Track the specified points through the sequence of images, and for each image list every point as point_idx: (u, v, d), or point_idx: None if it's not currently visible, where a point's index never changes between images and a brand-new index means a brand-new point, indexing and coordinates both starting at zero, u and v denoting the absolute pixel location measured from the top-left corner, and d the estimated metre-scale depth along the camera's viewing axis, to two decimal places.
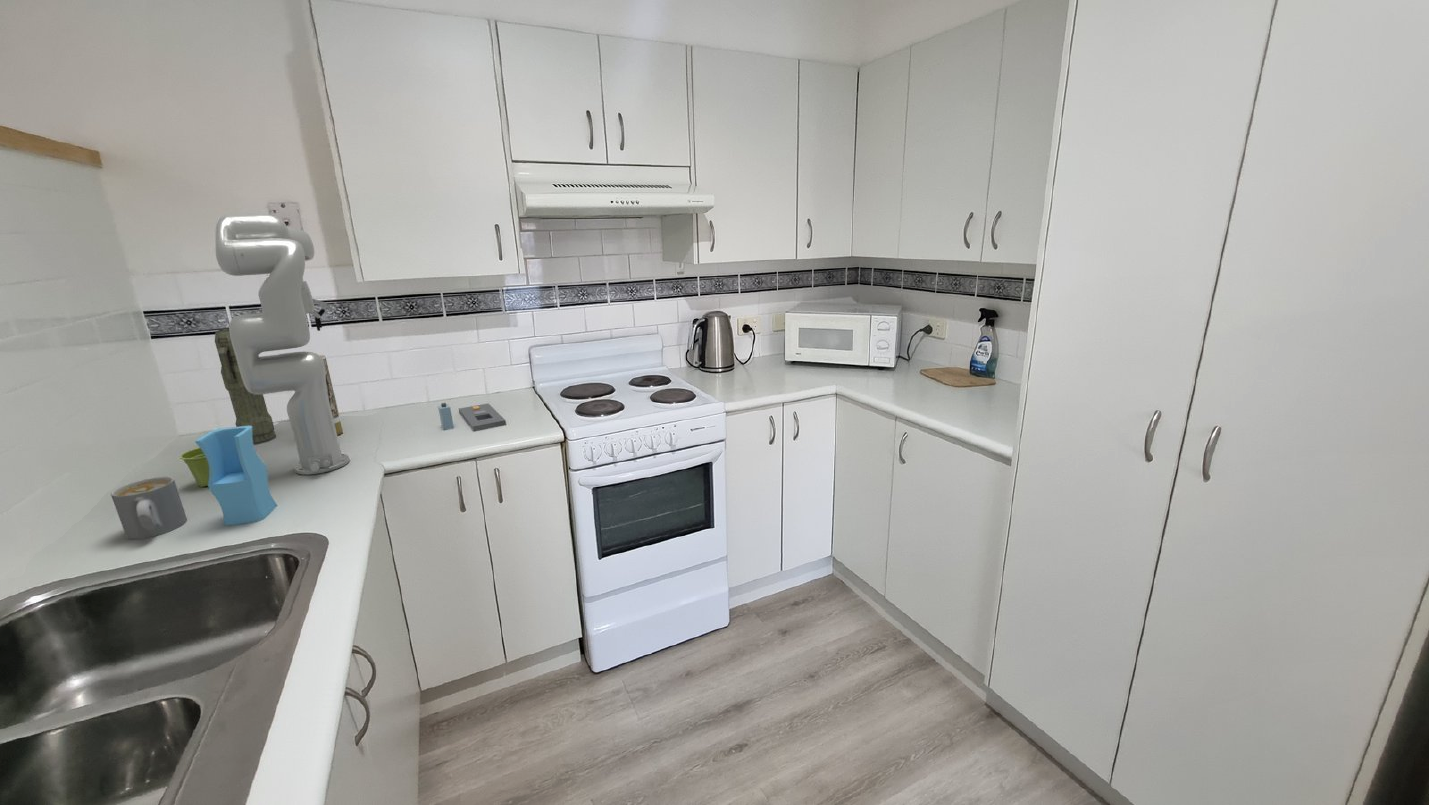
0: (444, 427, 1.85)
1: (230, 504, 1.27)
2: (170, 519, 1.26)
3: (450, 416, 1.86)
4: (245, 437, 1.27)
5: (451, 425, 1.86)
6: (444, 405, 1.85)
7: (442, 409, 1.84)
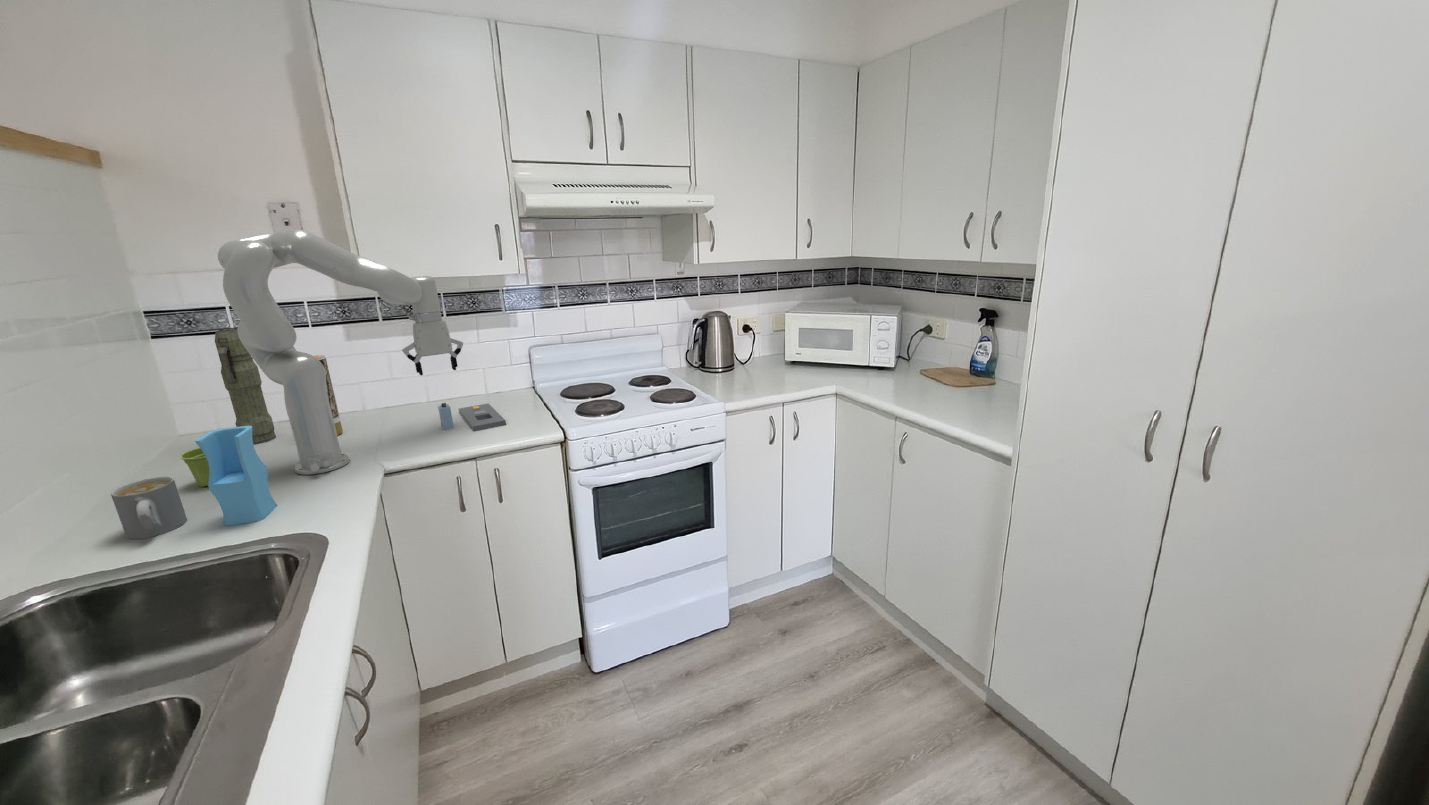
0: (444, 427, 1.85)
1: (230, 504, 1.27)
2: (170, 519, 1.26)
3: (450, 416, 1.86)
4: (245, 437, 1.27)
5: (451, 425, 1.86)
6: (444, 405, 1.85)
7: (442, 409, 1.84)
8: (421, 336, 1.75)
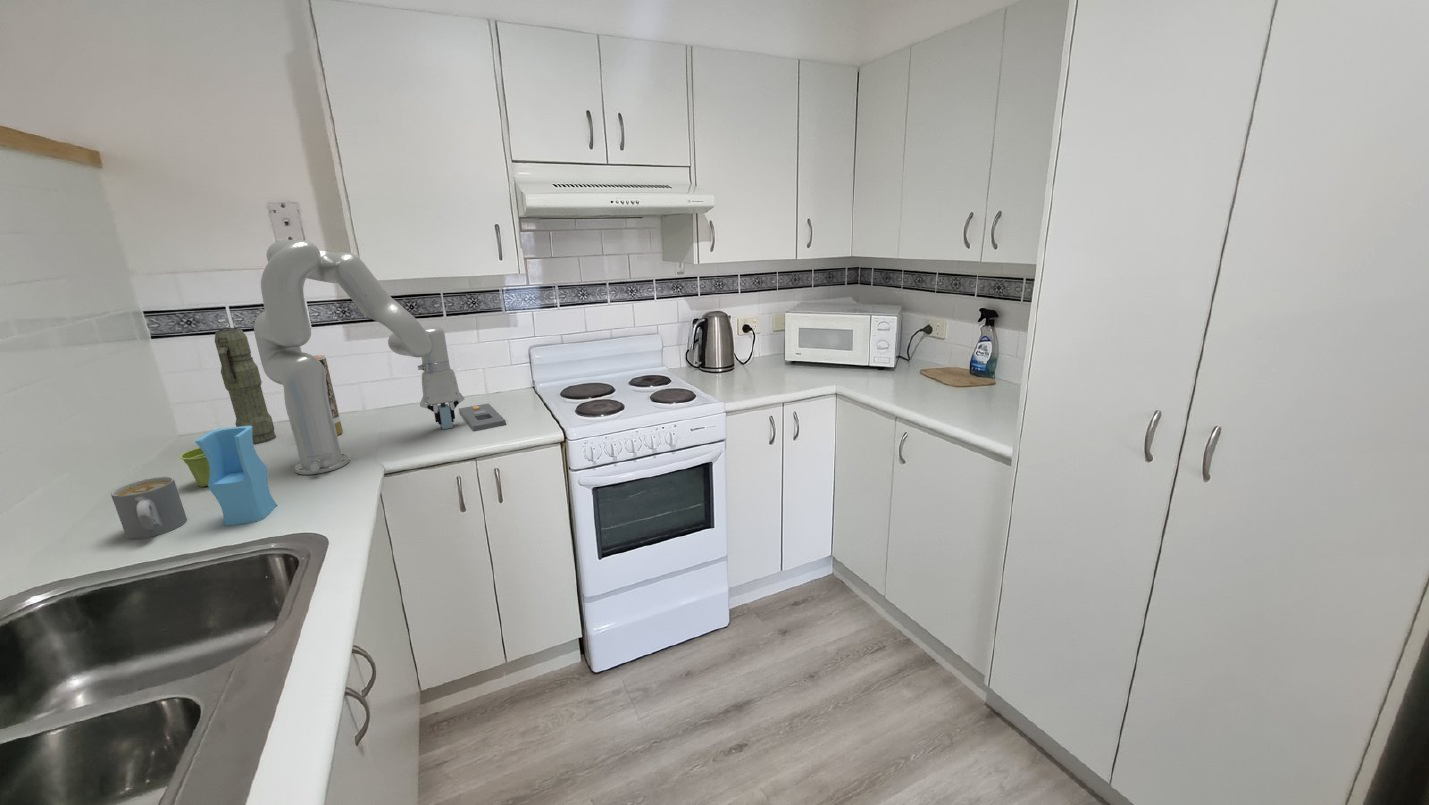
0: (443, 427, 1.85)
1: (230, 504, 1.27)
2: (170, 519, 1.26)
3: (449, 416, 1.85)
4: (245, 437, 1.27)
5: (450, 425, 1.86)
6: (443, 405, 1.85)
7: (441, 408, 1.84)
8: (430, 385, 1.80)
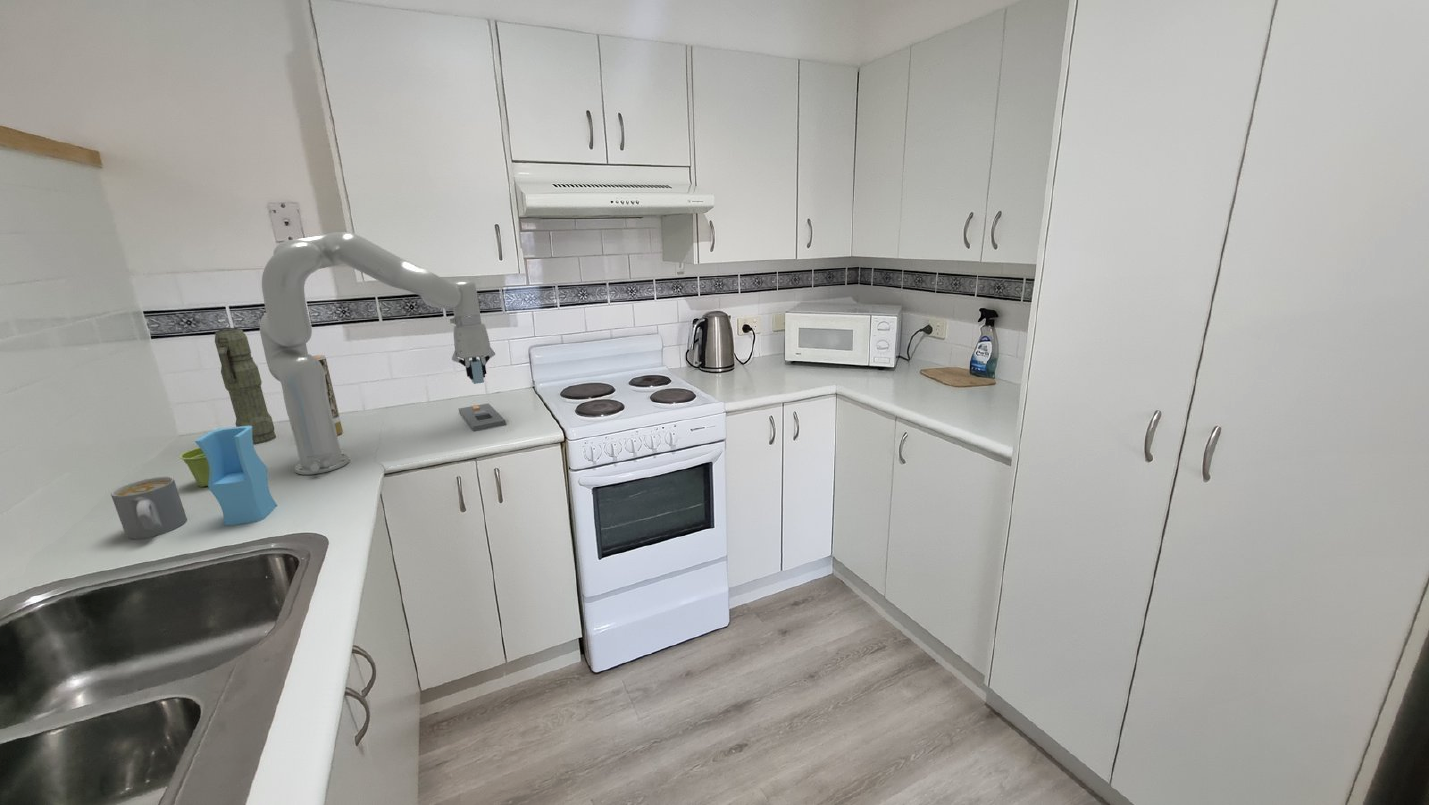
0: (475, 381, 1.86)
1: (230, 504, 1.27)
2: (170, 519, 1.26)
3: (481, 370, 1.86)
4: (245, 437, 1.27)
5: (482, 379, 1.87)
6: (475, 359, 1.85)
7: (473, 363, 1.84)
8: (462, 339, 1.80)
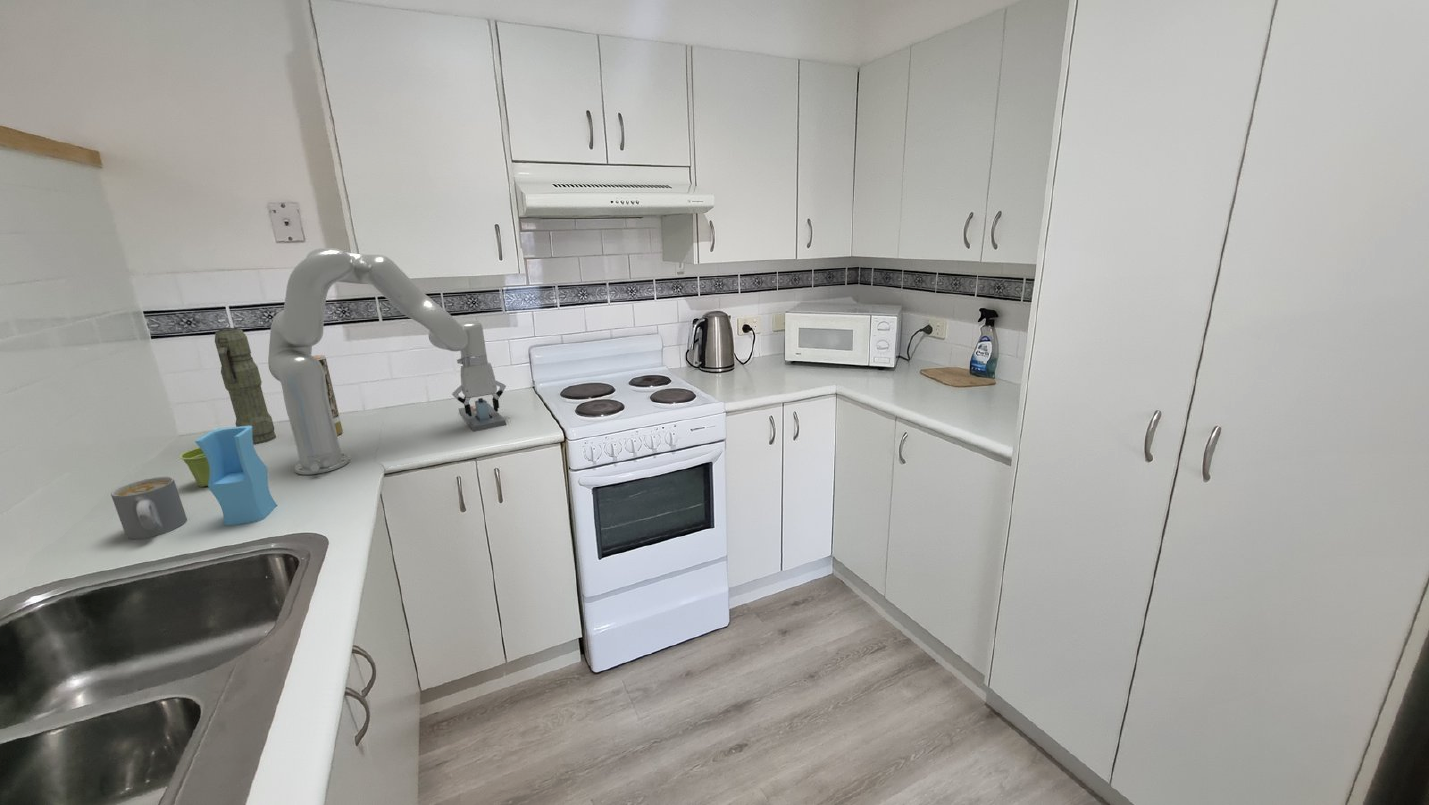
0: None
1: (230, 504, 1.27)
2: (170, 519, 1.26)
3: (487, 411, 1.90)
4: (245, 437, 1.27)
5: None
6: (481, 400, 1.89)
7: (479, 404, 1.88)
8: (469, 379, 1.84)
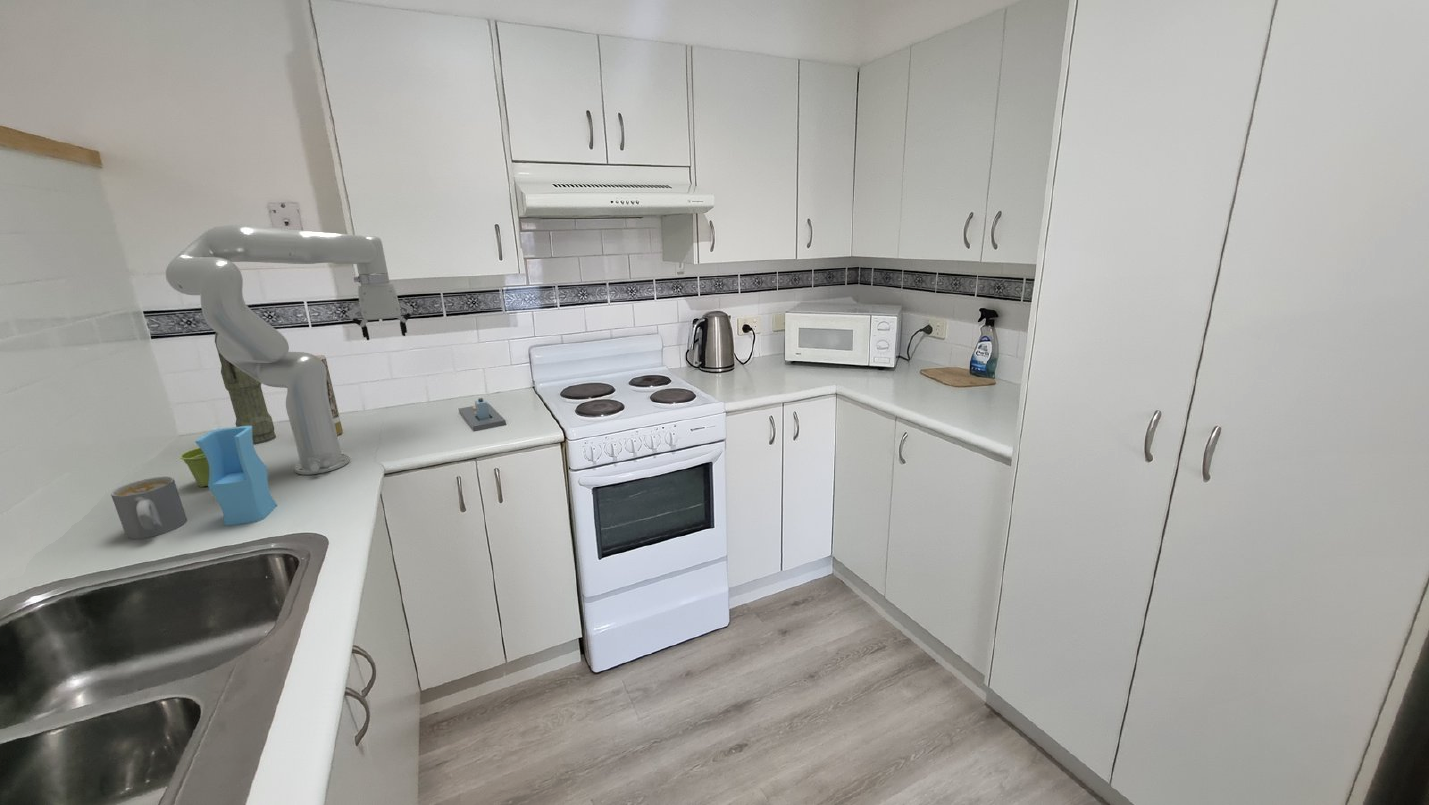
0: None
1: (230, 504, 1.27)
2: (170, 519, 1.26)
3: (487, 411, 1.90)
4: (245, 437, 1.27)
5: None
6: (481, 400, 1.89)
7: (479, 404, 1.88)
8: (367, 299, 1.69)
